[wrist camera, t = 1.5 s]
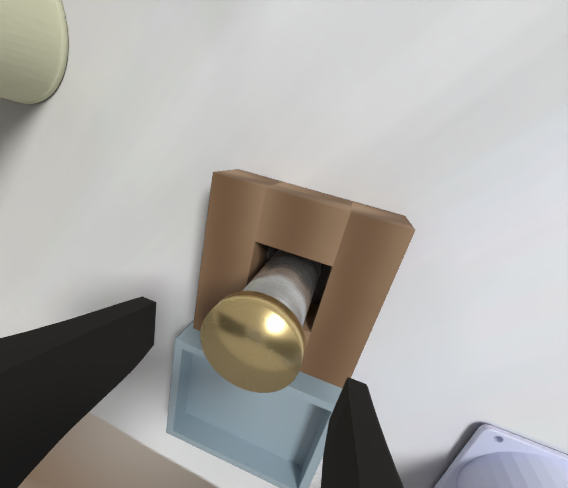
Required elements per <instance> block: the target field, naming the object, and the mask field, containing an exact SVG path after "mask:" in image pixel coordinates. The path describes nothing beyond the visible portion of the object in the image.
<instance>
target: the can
mask: <svg viewBox="0 0 568 488" xmlns="http://www.w3.org/2000/svg"><path fill="white" fill-rule="evenodd" d="M67 56H68V32H67V24H66V18H65V13H64V9H63V5H62V2H61V0H0V98H5V99H9V100H12V101H15V102H18V103H23V104H34V103H39V102H41V101H43V100H45V99H47V98H48V97H49V96H51V95H52V94H53V93H54V92H55V90H56V89H57V87H58V86H59V84H60V82H61V80H62V78H63V75H64V72H65V68H66V64H67Z"/></svg>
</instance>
